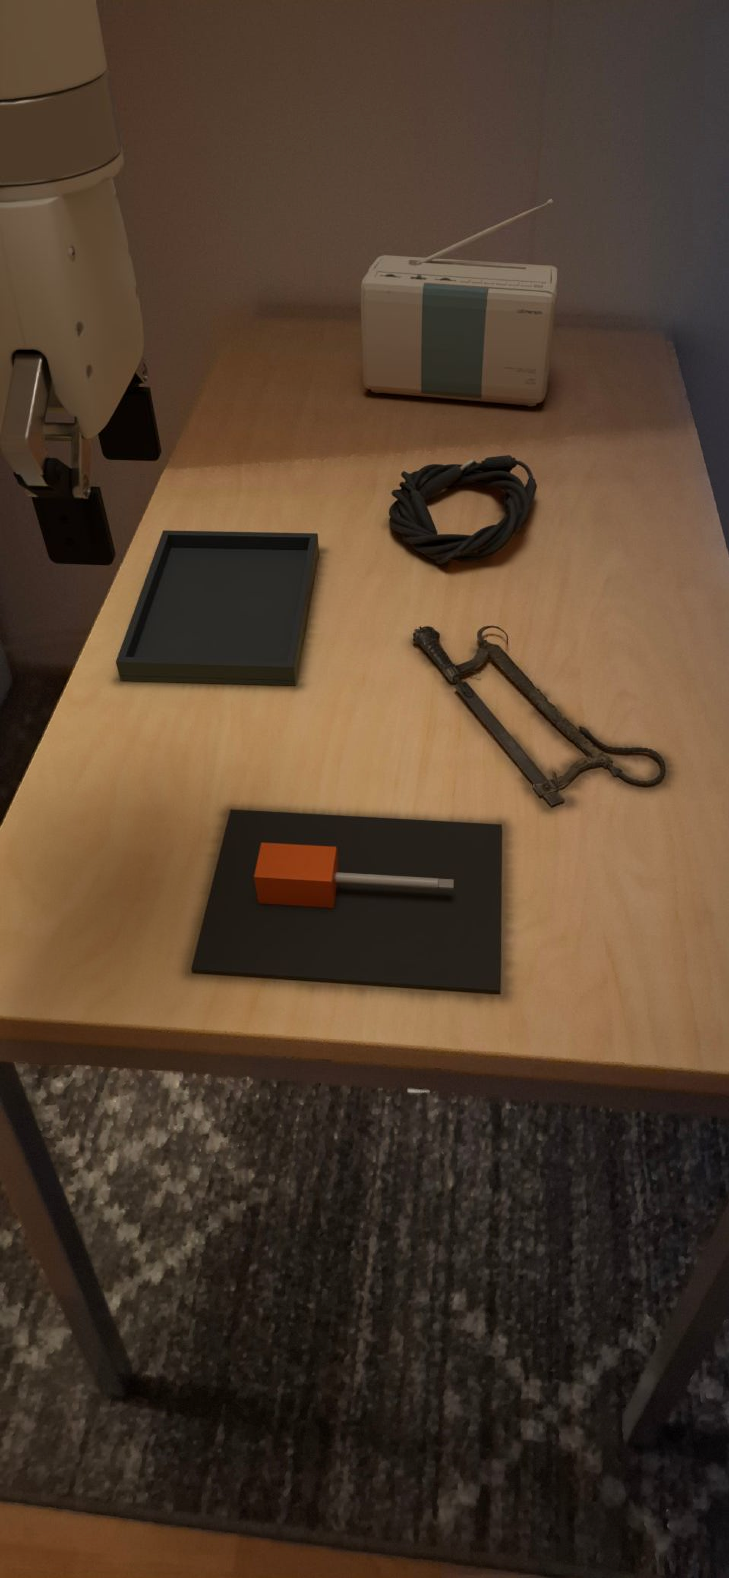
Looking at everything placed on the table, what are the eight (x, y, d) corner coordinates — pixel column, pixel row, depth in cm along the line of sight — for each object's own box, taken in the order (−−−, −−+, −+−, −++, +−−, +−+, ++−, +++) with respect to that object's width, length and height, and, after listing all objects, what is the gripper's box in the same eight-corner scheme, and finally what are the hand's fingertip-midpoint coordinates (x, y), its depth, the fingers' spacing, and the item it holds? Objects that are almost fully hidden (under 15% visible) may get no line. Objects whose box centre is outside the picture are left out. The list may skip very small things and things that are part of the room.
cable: (512, 584, 96) (516, 543, 93) (365, 562, 99) (364, 522, 95) (542, 487, 107) (547, 447, 104) (410, 470, 110) (411, 431, 107)
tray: (295, 686, 87) (293, 666, 85) (120, 680, 88) (115, 661, 86) (319, 551, 100) (317, 533, 98) (166, 548, 101) (162, 530, 99)
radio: (361, 399, 121) (355, 212, 106) (376, 367, 126) (373, 185, 111) (542, 415, 117) (562, 223, 102) (550, 381, 122) (570, 195, 108)
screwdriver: (258, 903, 71) (253, 876, 69) (265, 869, 73) (261, 841, 71) (451, 915, 70) (453, 888, 68) (453, 880, 72) (455, 853, 70)
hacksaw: (406, 638, 91) (406, 624, 90) (508, 604, 94) (509, 590, 93) (561, 824, 76) (563, 810, 75) (676, 776, 79) (680, 762, 78)
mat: (191, 972, 68) (190, 969, 68) (230, 812, 77) (230, 808, 77) (500, 993, 66) (500, 990, 66) (501, 827, 76) (501, 824, 75)
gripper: (3, 73, 48) (85, 423, 60) (-162, 206, 36) (-17, 605, 49) (163, 72, 47) (213, 426, 60) (48, 207, 35) (140, 612, 48)
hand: (110, 506), depth 54 cm, fingers open, 9 cm apart
